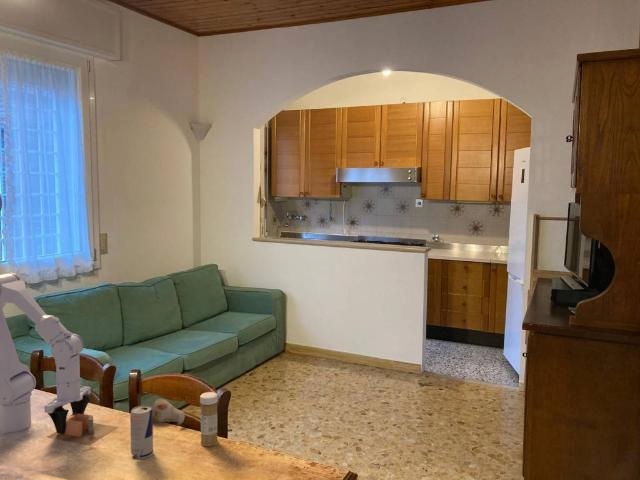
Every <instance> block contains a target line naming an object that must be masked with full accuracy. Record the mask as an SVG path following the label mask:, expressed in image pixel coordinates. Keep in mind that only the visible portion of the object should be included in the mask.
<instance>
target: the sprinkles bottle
mask: <svg viewBox="0 0 640 480" xmlns="http://www.w3.org/2000/svg"><path fill="white" fill-rule="evenodd" d="M199 397H200V398H199V403H200V445H201V446H204V447H213V446H215V445H217V443H218V440H219V439H218V402H219V401H218V400H219V399H218V398H219V396H218V394H217V393H216V392H214V391H213V392H212V391H208V392H203V393H202V394H201V395H200V396H199Z"/></svg>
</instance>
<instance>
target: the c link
mask: <svg viewBox="0 0 640 480" xmlns="http://www.w3.org/2000/svg"><path fill="white" fill-rule="evenodd" d="M89 418H93V419H94V415H91V414H86V413H84V414H80V413H74V414H70V415H67V418H66V430H65V433H64V434H66V435H71V436H77V437H79V436H81V435H82V429H85V430H88V419H89Z"/></svg>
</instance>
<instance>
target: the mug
mask: <svg viewBox="0 0 640 480" xmlns="http://www.w3.org/2000/svg"><path fill="white" fill-rule="evenodd" d="M151 408H152V411H153V423H166V422H167V423H168V422H169V423H170V422H172V423H175V425H177V426H179V425H182V424H183V423H184V420H185V418H186V413H185V412H184V411H183V410H180V409H177V408H176V407H175V406H173V405H172V404H171V403H170V402H169V401H168V400H166V399H164V398H157V399H156V400H155V401H154V402H153V405H152V406H151Z"/></svg>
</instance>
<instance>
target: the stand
mask: <svg viewBox="0 0 640 480" xmlns="http://www.w3.org/2000/svg"><path fill="white" fill-rule="evenodd" d="M118 428H119V427H118V426H113V425H107V424H103V423H96V422H94V417H93V418H89V419H88V430H85V429H82V435H81V436H79V437H77V436H71V435H66V434H60V433H57V431H56V430H55V432H53V433H51V434H50V435H47V436H46V438H48V439H53V440H54V439H55V440H60V441H65V442H69V443H77V444H80V445H81V444H82V445H87V446H91V445H93V444H94V443H95V442H97V441H99V440H100V439H102V438H104V437H105V436H107V435H108V434H110V433H111V432H114V431H115V430H117V429H118Z"/></svg>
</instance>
